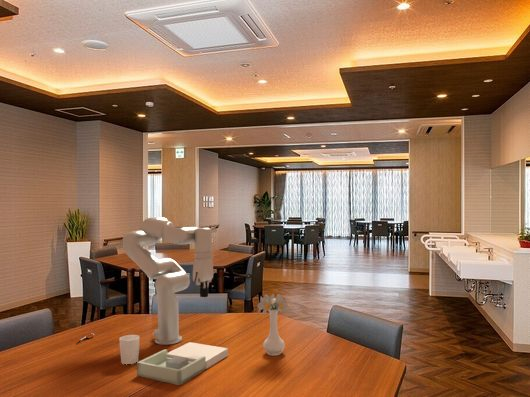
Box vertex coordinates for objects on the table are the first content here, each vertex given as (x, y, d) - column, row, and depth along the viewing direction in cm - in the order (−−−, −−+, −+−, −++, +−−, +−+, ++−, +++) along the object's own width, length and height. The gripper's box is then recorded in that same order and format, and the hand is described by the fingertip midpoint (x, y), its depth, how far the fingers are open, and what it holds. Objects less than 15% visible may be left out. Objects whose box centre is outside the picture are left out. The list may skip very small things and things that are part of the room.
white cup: (143, 359, 177) (143, 335, 177) (131, 366, 169) (131, 341, 169) (127, 357, 179) (127, 333, 179) (115, 364, 172) (115, 339, 172)
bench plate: (165, 361, 175) (165, 353, 175) (189, 348, 189) (189, 342, 189) (206, 368, 166) (206, 361, 166) (227, 355, 180) (227, 348, 180)
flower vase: (288, 345, 191) (287, 290, 192) (288, 360, 173) (287, 299, 173) (259, 345, 192) (259, 290, 193) (256, 360, 174) (255, 299, 174)
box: (137, 375, 160) (137, 362, 160) (165, 361, 174) (165, 349, 174) (179, 385, 151) (179, 371, 151) (205, 369, 165) (205, 356, 165)
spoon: (97, 336, 210) (96, 333, 210) (69, 350, 190) (69, 347, 190) (89, 336, 211) (89, 332, 211) (61, 350, 191) (61, 346, 191)
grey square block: (165, 369, 163) (165, 361, 163) (175, 364, 168) (175, 356, 168) (178, 372, 160) (178, 364, 160) (187, 366, 166) (187, 358, 166)
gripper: (206, 253, 198) (206, 292, 198) (186, 257, 184) (186, 299, 184) (219, 253, 194) (220, 294, 194) (200, 257, 181) (201, 301, 181)
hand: (204, 296), depth 189 cm, fingers closed
